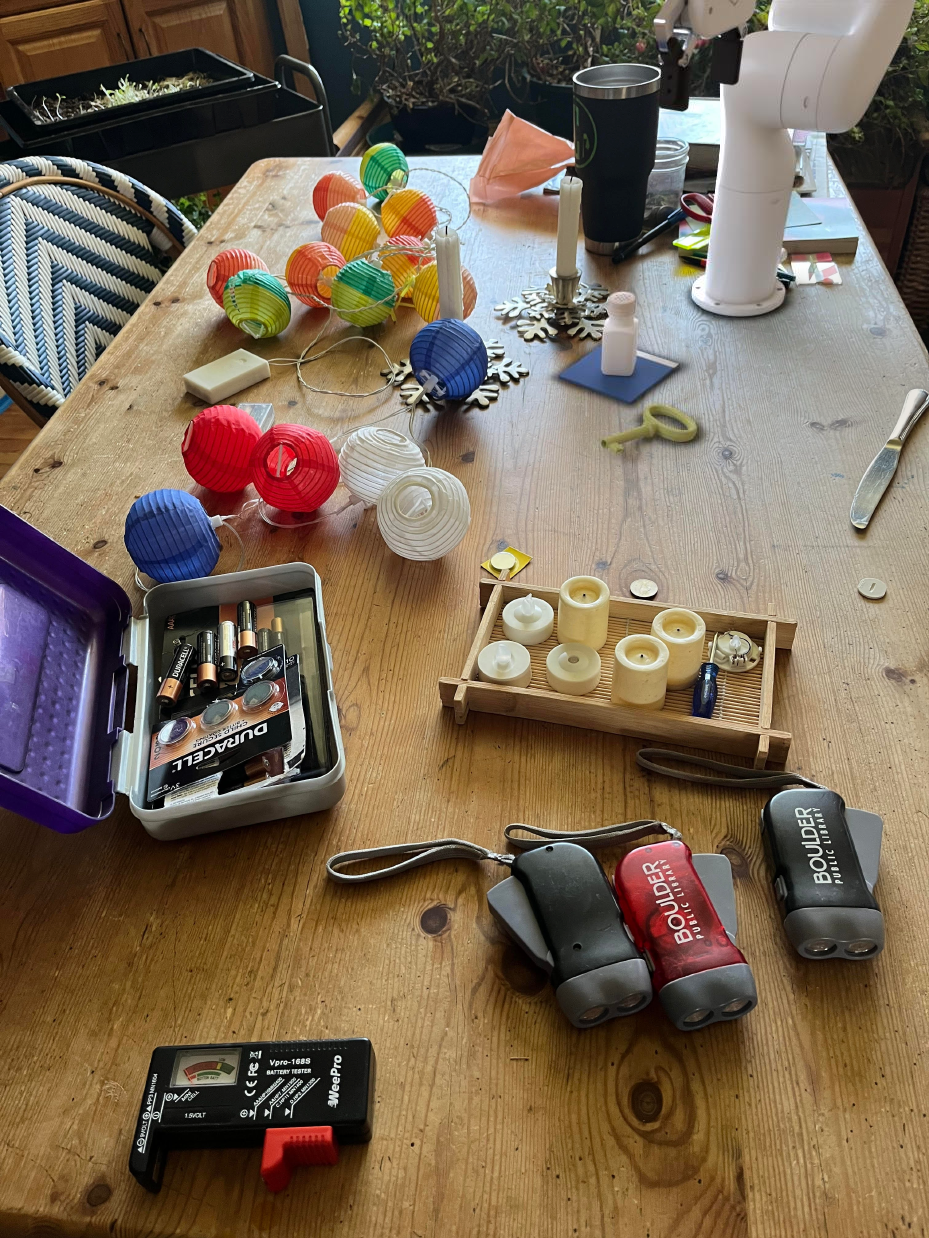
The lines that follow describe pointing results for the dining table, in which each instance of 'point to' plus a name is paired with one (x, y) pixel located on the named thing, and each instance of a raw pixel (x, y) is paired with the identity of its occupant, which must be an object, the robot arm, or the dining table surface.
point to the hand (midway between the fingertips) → (698, 96)
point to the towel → (615, 386)
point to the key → (653, 428)
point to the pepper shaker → (620, 336)
